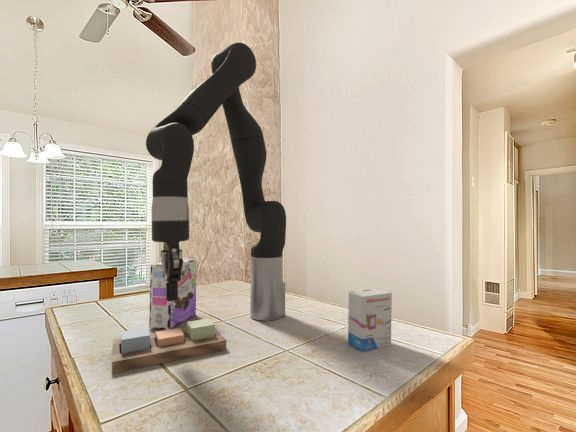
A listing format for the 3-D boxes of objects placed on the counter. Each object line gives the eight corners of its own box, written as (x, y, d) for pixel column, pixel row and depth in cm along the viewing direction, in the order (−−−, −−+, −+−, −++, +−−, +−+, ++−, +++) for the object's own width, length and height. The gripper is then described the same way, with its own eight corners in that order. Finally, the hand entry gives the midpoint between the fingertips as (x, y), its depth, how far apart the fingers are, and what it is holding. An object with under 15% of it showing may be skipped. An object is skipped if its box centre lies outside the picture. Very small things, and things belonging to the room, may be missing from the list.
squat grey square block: (147, 341, 65) (147, 327, 65) (150, 350, 60) (150, 335, 61) (121, 346, 62) (121, 331, 62) (121, 355, 58) (121, 339, 58)
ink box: (362, 352, 63) (362, 295, 63) (347, 344, 67) (347, 290, 68) (392, 345, 67) (392, 291, 67) (376, 337, 71) (376, 287, 72)
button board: (210, 332, 75) (211, 323, 75) (226, 349, 65) (226, 340, 65) (112, 349, 65) (112, 339, 65) (111, 373, 54) (112, 362, 54)
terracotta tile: (179, 341, 68) (179, 327, 68) (183, 349, 64) (184, 334, 64) (155, 345, 66) (155, 331, 66) (158, 354, 61) (158, 339, 61)
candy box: (169, 331, 76) (170, 264, 76) (148, 329, 77) (149, 264, 77) (196, 314, 89) (197, 258, 90) (178, 313, 90) (179, 258, 91)
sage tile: (208, 331, 71) (208, 318, 71) (214, 338, 67) (214, 324, 67) (186, 335, 69) (186, 321, 69) (191, 342, 64) (191, 328, 64)
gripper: (195, 218, 61) (197, 304, 61) (182, 218, 73) (183, 291, 73) (155, 219, 58) (156, 310, 57) (148, 219, 69) (149, 295, 69)
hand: (171, 299), depth 65 cm, fingers closed
